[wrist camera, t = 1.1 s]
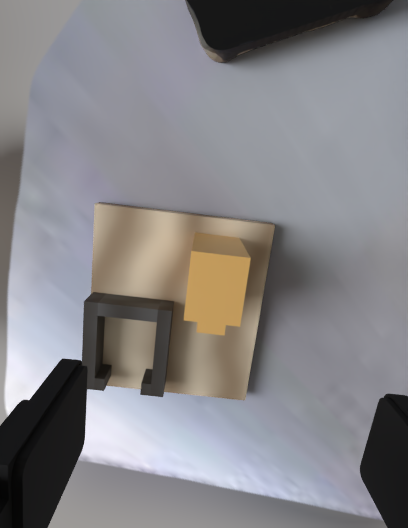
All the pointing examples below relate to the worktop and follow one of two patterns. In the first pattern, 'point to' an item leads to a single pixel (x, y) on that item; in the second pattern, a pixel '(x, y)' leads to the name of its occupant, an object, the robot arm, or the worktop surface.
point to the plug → (216, 283)
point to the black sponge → (267, 21)
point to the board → (165, 305)
